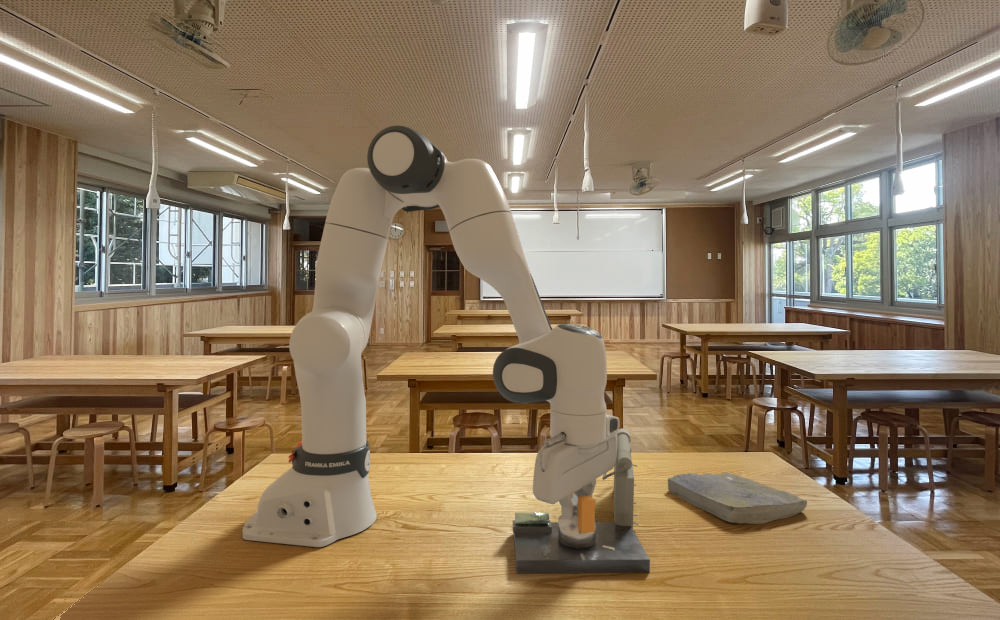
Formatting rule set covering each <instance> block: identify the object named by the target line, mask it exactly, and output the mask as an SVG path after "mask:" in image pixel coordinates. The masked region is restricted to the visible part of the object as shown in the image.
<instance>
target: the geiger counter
mask: <svg viewBox="0 0 1000 620" xmlns="http://www.w3.org/2000/svg"><path fill="white" fill-rule="evenodd" d="M616 432H617V458H616V463H615V465H614V468H613V471H612V472H610V473H605V474H603V475H602V478H601V479H602V480H603V481H604V480H606V479H607V478H609V477H612V476H613V517H614V518H613V519H614V520H613V522H615V524H617V525H622V526H631V527H632V529H633V530H634V525H637V526H638V525H639V523H637V522H634V517H637V516H638V514H634V505H635V504H637V502H635V499H634V495H635V487H636V486H637V484H635V475H634V474H635V473H634V467H638V465H637V464H633V459H632V447H631V444H630V443H631V433H630V432H629V430H628V429H626V428H619V429H618V430H617V431H616Z"/></svg>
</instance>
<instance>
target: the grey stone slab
mask: <svg viewBox="0 0 1000 620" xmlns="http://www.w3.org/2000/svg"><path fill="white" fill-rule="evenodd" d="M667 490H668V492H670V493H671V495H672V494H673V495H674V496H676V497H678V498H680V499H682V500H684V502H686V503H688V504H691V505H693V506H694V507H695V508H699V509H700V510H703V511H704V512H707V513H709V514H712V515H713V516H715V517H717V518H718V519H721V520H723V521H724V522H725V521H726V522H727V523H733V524H740V525H741V524H747V525H749V524H750V525H759V524H760V525H761V524H763V525H764V524H767V523H770V522H771V523H772V522H773V521H777V520H783V519H787V518H790V517H793V516H796V515H798V514H800V513H802V512H803V511H804V510H806V508H807V506H808V500H807V499H803V498H801V497H799V496H797V495H795V494H792V493H790V492H788V491H785V490H781V489H780V490H779V489H776V488H774V487H771V486H768V485H766V484H763V483H760V482H758V481H755V480H753V479H749V478H747V477H744V476H740V475H736V474H733V473H729V472H721V473H718V474H716V473H714V474H713V473H702V474H698V473H695V472H690V473H681V474H676V475H673V476H672V477H668V478H667Z"/></svg>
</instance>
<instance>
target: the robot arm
mask: <svg viewBox="0 0 1000 620" xmlns="http://www.w3.org/2000/svg"><path fill="white" fill-rule="evenodd" d="M366 159H367V165H368V167H355V168H351V169H348V170H347V171H345V172H344V173H343V175H342V176H341V177H340V179H339V182H338V184H337V186H336V188H335V191H334V193H333V195H332V198H331V201H330V204H329V206H328V207H329V208H328V211H327V215H326V219H325V223H324V227H323V232H322V236H321V239H320V243H319V249H318V254H317V257H316V263H315V267H314V268H315V269H314V270H315V284H314V296H313V304H312V309H311V311H310V312H308V313H306V314H305V315H304V316H302V317H301V318H300V319H299V320H298V322H297V323H296V324H295V326H294V328H293V330H292V331H291V335H290V338H289V343H288V346H289V347H288V349H289V353H290V357H291V359H292V360H293V367H294V373H295V378H296V384H297V389H298V394H299V398H300V408H301V409H300V413H301V441H300V442H298V443H297V444H296V446H295V447H296V448H294V449H293V450H292V451H291V453H290V454H289V455H288V456H287V459H288V463H289V464H290V463H291V465H292V466H291V467H290V468H289V469H288V470H286V471H285V472H284V473H282V474H281V475H280V476H279V477H277V478H276V479H275V480H274V481H273V482H272V483H270V484H269V485H267V487H266V488H265V490H264V491H263V492H262V494H261V495H260V498H259V501H258V504H257V507H256V508H257V509H256V511H255V512H254V513H253V514H252V515H251V516H249V517H248V519H247V520H246V521H245V523H244V525H243V527H242V532H241V533H242V534H241V535H242V539H243V540H246V541H253V542H254V541H255V542H264V543H274V544H281V545H282V544H283V545H284V544H285V545H294V546H302V547H303V546H304V547H311V548H312V547H314V548H322V547H325V546H329V545H330V544H332V543H334V542H336V541H338V540H339V539H343V538H346V537H350V536H353V535H356V534H359V533H360V532H362V531H364V530H366V529H368V528H369V527H370V526H371V525H373V524H374V523H375V521H376V520H377V517H378V516H377V511H376V508H375V505H374V501H373V498H372V497H373V496H372V491H371V485H370V479H369V473H370V468H371V451H370V442H369V440H368V439H367V400H366V399H367V398H366V395H365V388H364V387H365V386H364V378H363V377H364V376H363V367H362V353H363V352H364V350H365V349H366V347H367V345H368V343H369V339H370V333H371V329H372V328H371V327H372V324H373V318H374V317H373V316H374V312H375V307H376V301H377V293H378V287H379V282H380V277H381V273H382V268H383V265H384V264H383V263H384V259H385V255H386V250H387V246H388V242H389V238H390V237H389V236H390V232H391V228H392V224H393V220H394V218H395V216H396V214H397V213H398V212H399V211H401V210H402V211H404V212H407V213H409V212H416V211H417V212H418V211H419V212H420V211H432V210H436V209H440V210H441V211H442V214H443V216H444V220H445V222H446V226H447V229H448V232H449V235H450V238H451V243H452V245H453V249H454V251H455V252H456V255H457V257H458V258H459V261H460V263H461V264H462V266H463V268H464V269H465V270H466V271H467V272H468V273H470V274H472V275H473V276H475V277H477V278H479V279H480V280H481V281H483V282H485V283H487V285H489V286H490V287H491V288H493V289H494V290H495V291H496V292H497V293H498V294H499V296H500V297H501V299H502V300H503V302H504V304H505V306H506V310H507V311H508V314H509V317H510V319H511V321H512V325H513V328H514V329H515V332H516V335H517V337H518V343H517V344H514V345H512V346H509V347H507V348H506V349H505V350H503V351H502V352H500V353H499V355H498V356H497V357H496V359H495V361H494V364H493V366H492V367H493V368H492V378H493V379H492V380H493V383H494V386H495V388H496V390H497V391H498V392H499V394H500V395H501V396H502V398H504V399H506V401H509V402H511V403H514V404H531V403H541V402H548V403H549V406H550V408H549V409H550V413H549V414H550V417H549V422H550V423H549V424H550V425H549V426H550V428H549V435H550V436H549V437H547V438H546V439H545V440H544V441H543V444H542V446H541V447H540V449H539V450H538V452H537V454H536V457H535V461H534V469H533V481H532V494H533V497H535V499H536V500H538V501H540V502H544V503H546V504H549V505H555V504H557V503H558V502H559V505H560V506H561V511H560V513H561V515H562V516H563V517H564V518H567V519H571V518H572V517H574V516H575V515H576V512H575V511H576V506H575V505H573V504H572V501H571V499H572V498H573V492H575V491H577V490H578V489H580V488H582V489H583V490H584V491H585V492H587V493H588V494H589V495H591V496H592V497H593V493H594V491H595V488H596V485H597V479H598V478H600V477H601V476H602V477H603V475H604V474H605V473H606V474H608V472H610V471H612V470H614V465H615V463H616V458H617V432H616V431H617V430H618V429H620V423H621V422H620V418H619V417H617V416H616V415H615V416H614V415H611V414H607V403H606V401H605V390H606V387H607V380H608V364H607V351H606V344H605V340H604V337H603V336H602V334H601V333H599V332H598V331H597V330H595V329H593V328H591V327H588V326H585V325H580V324H571V323H561V324H557V325H556V326H555V327H554V328H553V327H552V325H551V323H550V320H549V317H548V315H547V312H546V309H545V307H544V306H545V305H544V304H543V302H542V299H541V296H540V294H539V291H538V289H537V286H536V283H535V281H534V278H533V276H532V274H531V271H530V268H529V265H528V262H527V259H526V255H525V253H524V250H523V247H522V243H521V240H520V239H521V238H520V236H519V232H518V228H517V226H516V222H515V219H514V217H513V212H512V210H511V207H510V204H509V202H508V198H507V197H506V194H505V191H504V189H503V187H502V184H501V183H500V181H499V179H498V177H497V174H496V173H495V172H494V169H493V168H492V166H491V165H490V164H489V163H487V162H486V161H484V160H483V159H479V158H464V159H460V160H458V161H449V160H448V159H447V157H446V155H445V154H444V153H443V151H442V150H441V149H440V148H439V147H438V146H437V145H435V144H434V143H433V142H432V141H431V140H429V138H428V137H426V136H425V135H424V134H422V133H421V132H419V131H418V130H415V129H414V128H411V127H408V126H405V125H391V126H388V127H386V128H383V129H381V130H380V131H379V132H378V133H376V134H375V136H374V137H373V138H372V140H371V141H370V144H369V146H368V149H367V158H366Z"/></svg>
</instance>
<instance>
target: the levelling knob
mask: <svg viewBox="0 0 1000 620" xmlns="http://www.w3.org/2000/svg"><path fill="white" fill-rule="evenodd" d="M595 499H596V498H594V497H593V495H592V496H591V495H589V494H588V493H587V492H585V491H584V490H583V489H582V488H580V489H578V490H577V491H575V492H573V498H572V499H571V501H572V504H573V505H575V506H576V511H575V512H576V515H575V516H574V517H572V518H571V519H567V518H564V517H563V516H562V514H561V515H559V516H558V520H557V522H558V539H559V541H560V542H561V543H562V544H564V545H566V546H569V547H573V548H586V547H590V546H592V545H593V544H594V543H595V542H596V522H597V520H596V518H595V517H596V516H595V514H596V512H595V511H596V510H595V509H596V507H595V506H596V505H595V504H596V500H595Z"/></svg>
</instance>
